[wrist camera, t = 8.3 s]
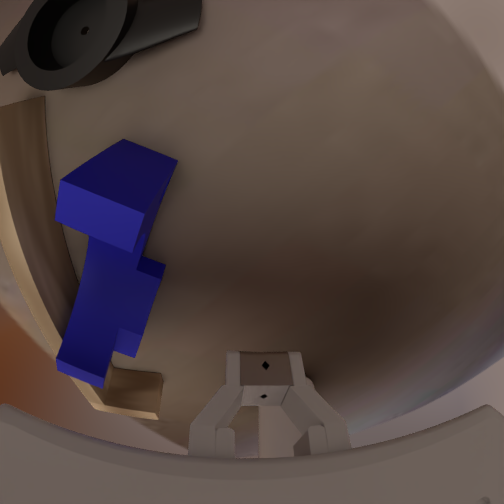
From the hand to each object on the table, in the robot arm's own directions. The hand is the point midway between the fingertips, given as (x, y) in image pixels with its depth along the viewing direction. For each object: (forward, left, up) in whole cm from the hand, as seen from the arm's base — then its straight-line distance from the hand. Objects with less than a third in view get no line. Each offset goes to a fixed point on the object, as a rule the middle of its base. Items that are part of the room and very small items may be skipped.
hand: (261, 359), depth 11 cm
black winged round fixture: (+9, -13, -7) cm, 17 cm away
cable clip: (+7, -1, -7) cm, 10 cm away
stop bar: (+10, +2, -6) cm, 12 cm away
